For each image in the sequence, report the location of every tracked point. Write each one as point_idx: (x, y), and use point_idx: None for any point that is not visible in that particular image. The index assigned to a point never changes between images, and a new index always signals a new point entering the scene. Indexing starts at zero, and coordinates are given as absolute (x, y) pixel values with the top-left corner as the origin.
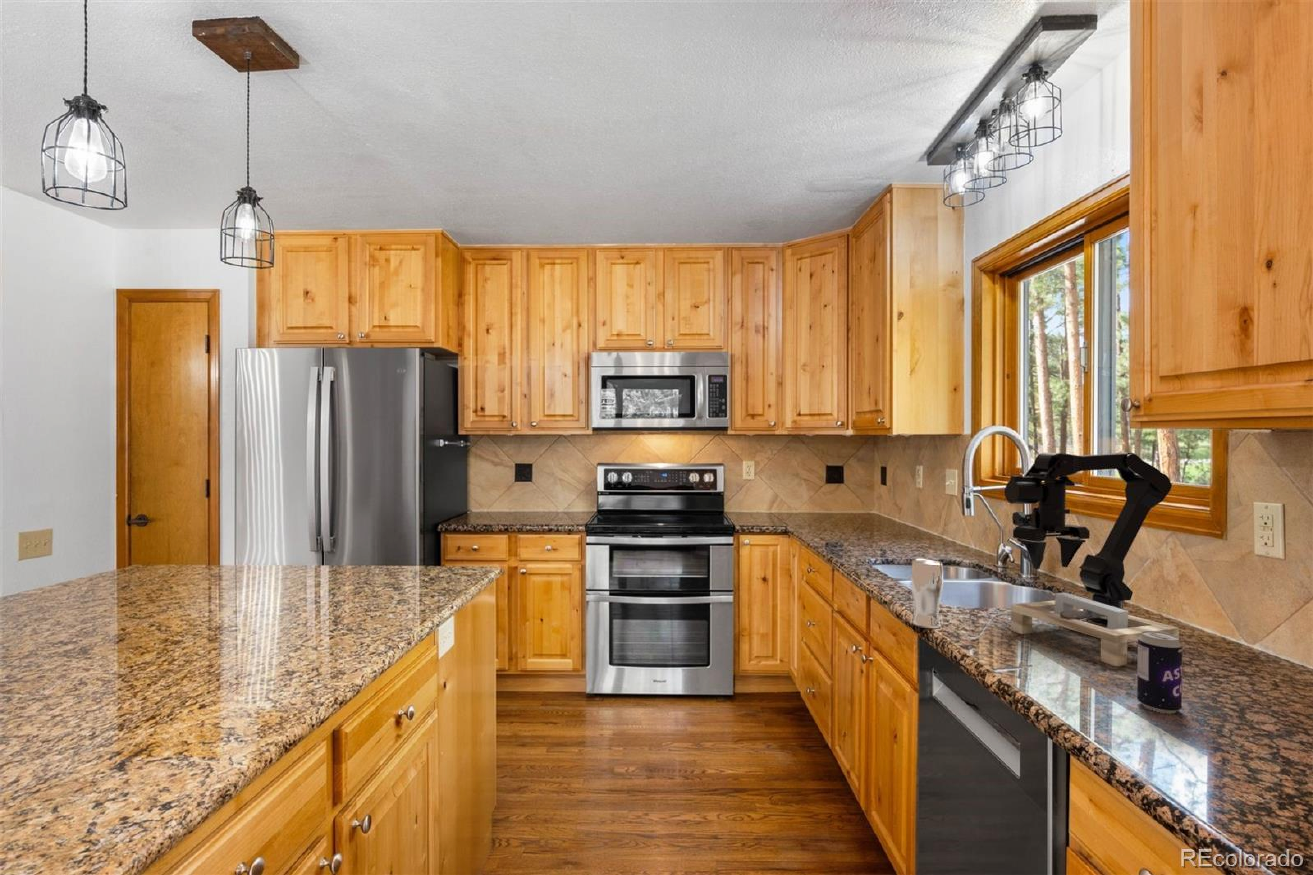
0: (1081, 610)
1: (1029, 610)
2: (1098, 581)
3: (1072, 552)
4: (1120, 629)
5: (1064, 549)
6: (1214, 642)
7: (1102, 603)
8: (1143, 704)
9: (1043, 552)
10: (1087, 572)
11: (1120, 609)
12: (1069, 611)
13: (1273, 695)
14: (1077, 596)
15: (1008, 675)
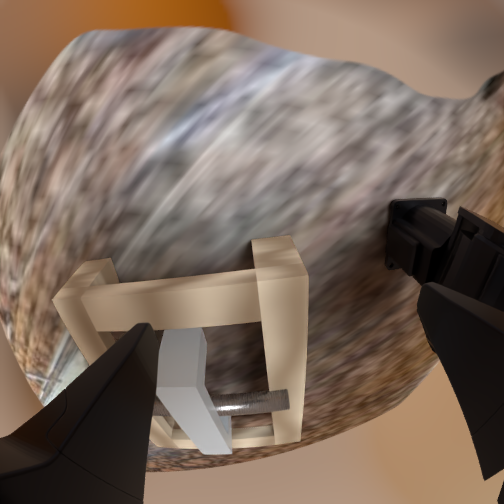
0: (169, 416)
1: (79, 346)
2: (427, 335)
3: (462, 407)
4: (187, 441)
5: (500, 372)
6: (425, 351)
7: (222, 436)
8: None
9: (138, 481)
10: (476, 290)
11: (225, 450)
12: None
13: (263, 451)
14: (203, 409)
15: (36, 384)
